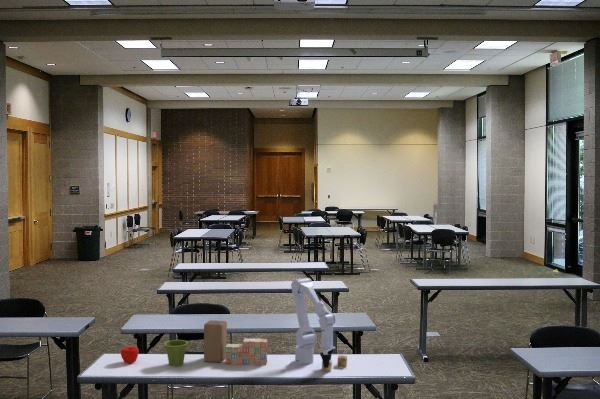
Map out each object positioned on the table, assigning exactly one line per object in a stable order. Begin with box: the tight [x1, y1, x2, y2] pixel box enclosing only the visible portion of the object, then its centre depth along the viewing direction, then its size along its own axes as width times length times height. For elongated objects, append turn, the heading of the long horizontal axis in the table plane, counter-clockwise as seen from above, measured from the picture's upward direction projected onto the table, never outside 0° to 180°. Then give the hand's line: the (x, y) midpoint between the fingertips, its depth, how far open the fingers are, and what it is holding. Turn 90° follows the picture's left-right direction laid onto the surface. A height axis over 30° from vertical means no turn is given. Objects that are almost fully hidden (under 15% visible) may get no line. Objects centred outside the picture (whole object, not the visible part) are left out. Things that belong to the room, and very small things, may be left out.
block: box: [203, 319, 228, 363], centre depth 304 cm, size 10×10×20 cm
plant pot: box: [164, 339, 189, 367], centre depth 296 cm, size 12×12×11 cm
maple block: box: [321, 359, 333, 372], centre depth 286 cm, size 4×4×4 cm
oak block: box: [337, 354, 348, 368], centre depth 293 cm, size 4×4×4 cm
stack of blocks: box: [224, 338, 268, 366], centre depth 299 cm, size 21×6×12 cm, turn 88°
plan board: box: [335, 362, 350, 369], centre depth 290 cm, size 14×16×1 cm
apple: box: [120, 346, 139, 364], centre depth 299 cm, size 9×9×8 cm
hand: (327, 365), depth 286 cm, fingers open, 7 cm apart
